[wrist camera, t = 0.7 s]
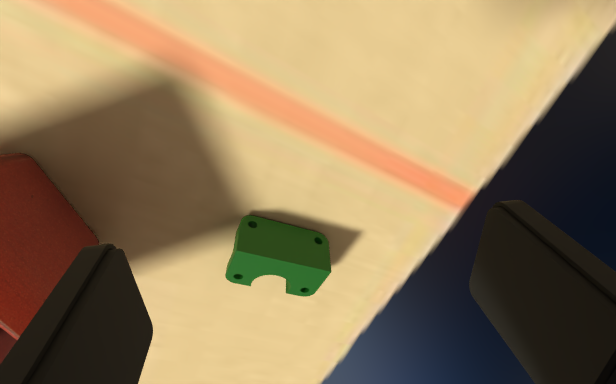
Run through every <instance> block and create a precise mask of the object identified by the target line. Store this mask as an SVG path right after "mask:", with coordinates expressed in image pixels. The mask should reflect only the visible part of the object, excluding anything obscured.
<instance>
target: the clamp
mask: <svg viewBox="0 0 616 384" xmlns="http://www.w3.org/2000/svg"><path fill="white" fill-rule="evenodd" d="M330 273H331V264H330V253H329V243H328V240H327V238H326V237H325V236H324V235H323V234H321V233H318V232H315V231H311V230H307V229H303V228H299V227H295V226H291V225H287V224H284V223H280V222H276V221H272V220H268V219H264V218H260V217H256V216H252V215H248V216H245V217H243V218H242V220H241V222H240V224H239V227H238V229H237V232H236V237H235V243H234V249H233V253H232V255H231V258H230V260H229V262H228V265H227V270H226V278H227V280H229V281H230V282H233V283H237V284H242V285H248V286H251V283H252V281H253V280H254V279H255V278H257V277H259V276H263V275H277V276H281V277H283V278H285V279H286V293H288V294H293V295H298V296H310V295H313V294H314V293H315V292H316V291H317V290H318V288H319V287H320V286H321V284H322V283H323V282H324V281H325V279H326V278H327V277H328V275H329V274H330Z"/></svg>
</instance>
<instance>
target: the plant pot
mask: <svg viewBox="0 0 616 384" xmlns="http://www.w3.org/2000/svg"><path fill="white" fill-rule="evenodd" d="M93 245H99V241H98V239H97V238H96V236H95V235H94V234H93V233H92V232H91V230H90V229H89V228H88V227H87V225H86V224H85V223H84V222H83V220H82V219H81V218H80V217H79V215H78V214H77V213H76V212H75V211H74V209H73V208H72V207H71V206H70V204H69V203H68V202H67V201H66V199H65V198H64V197H63V196H62V194H61V193H60V192H59V191H58V190H57V188H56V187H55V186H54V185H53V183H52V182H51V181H50V180H49V178H48V177H47V176H46V175H45V173H44V172H43V171H42V170H41V168H40V167H39V166H38V165H37V164H36V162H35V161H34V160H33V159H32V158H31V157H30V156H28V155H26V154H21V153H14V154H3V155H0V364H1V363H2V361H3V360H4V358H5V357H6V356H7V354H8V353H9V351H10V350H11V349H12V347H13V346H14V344H15V343H16V341H17V340H18V339H19V337H20V336H21V334H22V333H23V331H24V330H25V329H26V327H27V326H28V324H29V323H30V322H31V320H32V319H33V317H34V316H35V314H36V313H37V312H38V310H39V309H40V307H41V306H42V305H43V303H44V302H45V300H46V299H47V297H48V296H49V295H50V293H51V292H52V290H53V289H54V288H55V286H56V285H57V283H58V282H59V280H60V279H61V278H62V276H63V275H64V273H65V272H66V270H67V269H68V268H69V266H70V265H71V263H72V262H73V261H74V259H75V258H76V256H77V255H78V253H79V252H80V251H81V249H82V248H83V247H86V246H93Z"/></svg>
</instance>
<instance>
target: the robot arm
mask: <svg viewBox="0 0 616 384" xmlns="http://www.w3.org/2000/svg"><path fill="white" fill-rule="evenodd" d="M469 288H470V292H471V294H472V296H473V298H474V299H475V300H476V302H477V303H478V305H479V306H480V307H481V309H482V310H483V312H484V313H485V314H486V316H487V317H488V319H489V320H490V321H491V323H492V324H493V325H494V327H495V328H496V330H497V331H498V332H499V334H500V335H501V336H502V338H503V339H504V341H505V342H506V343H507V345H508V346H509V348H510V349H511V350H512V352H513V353H514V355H515V356H516V357H517V359H518V360H519V361H520V363H521V364H522V366H523V367H524V368H525V370H526V371H527V373H528V374H529V375H530V377H531V378H532V380H533V381H534V382H535V384H616V272H615V271H614V270H612V269H611V268H610V267H609V266H607V265H606V264H605V263H603V262H602V261H601V260H599V259H598V258H597V257H595V256H594V255H593V254H591V253H590V252H589V251H588V250H586V249H585V248H584V247H582V246H581V245H580V244H578V243H577V242H576V241H574V240H573V239H572V238H571V237H569V236H568V235H567V234H565V233H564V232H563V231H561V230H560V229H559V228H558V227H556V226H555V225H554V224H552V223H551V222H550V221H548V220H547V219H546V218H544V217H543V216H542V215H541V214H539V213H538V212H537V211H535V210H534V209H533V208H531V207H530V206H528V205H527V204H526V203H525V202H523V201H521V200H513V201H503V202H497V203H495V205H494V206H493V208H491V209H489V211H488V213H487V216H486V220H485V223H484V228H483V231H482V236H481V239H480V243H479V247H478V251H477V255H476V259H475V262H474V267H473V270H472V274H471V278H470V282H469ZM152 335H153V326H152V322H151V320H150V317H149V315H148V312H147V309H146V307H145V304H144V302H143V299H142V297H141V294H140V292H139V289H138V287H137V284H136V281H135V279H134V276H133V274H132V271H131V269H130V266H129V264H128V261H127V259H126V256H125V253H124V252H123V250H122V249H116V247H115V246H114V245H113V244H102V245H93V246H86V247H83V248H82V249H81V251H80V252H79V253H78V255H77V256H76V258H75V259H74V261H73V262H72V263H71V265H70V266H69V268H68V269H67V270H66V272H65V273H64V275H63V276H62V278H61V279H60V280H59V282H58V283H57V285H56V286H55V288H54V289H53V290H52V292H51V293H50V295H49V296H48V297H47V299H46V300H45V302H44V303H43V305H42V306H41V307H40V309H39V310H38V312H37V313H36V314H35V316H34V317H33V319H32V320H31V322H30V323H29V324H28V326H27V327H26V329H25V330H24V331H23V333H22V334H21V336H20V337H19V339H18V340H17V341H16V343H15V344H14V346H13V347H12V349H11V350H10V351H9V353H8V354H7V356H6V357H5V358H4V360H3V361H2V363H1V364H0V384H138V382H139V378H140V375H141V372H142V369H143V366H144V362H145V359H146V356H147V353H148V350H149V346H150V343H151V340H152Z"/></svg>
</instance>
